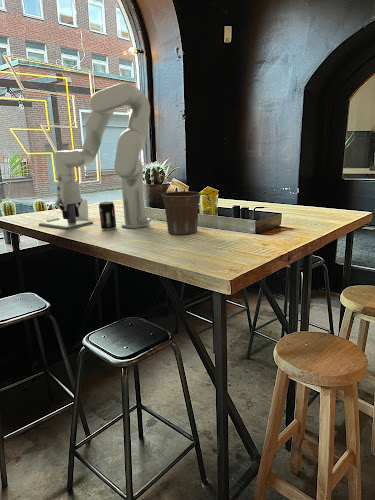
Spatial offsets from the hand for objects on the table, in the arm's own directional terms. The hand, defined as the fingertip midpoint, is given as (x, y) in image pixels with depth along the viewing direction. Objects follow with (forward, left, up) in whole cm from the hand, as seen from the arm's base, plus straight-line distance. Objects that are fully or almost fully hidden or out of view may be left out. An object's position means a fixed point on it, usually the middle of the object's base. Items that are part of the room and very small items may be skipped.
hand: (71, 217), depth 174 cm
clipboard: (+8, -2, -4) cm, 9 cm away
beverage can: (-20, -4, -5) cm, 21 cm away
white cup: (+12, -15, -5) cm, 19 cm away
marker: (0, 0, -3) cm, 3 cm away
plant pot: (-54, -14, -5) cm, 56 cm away
